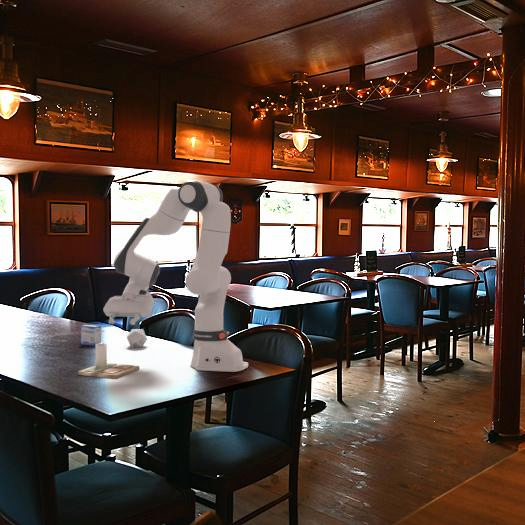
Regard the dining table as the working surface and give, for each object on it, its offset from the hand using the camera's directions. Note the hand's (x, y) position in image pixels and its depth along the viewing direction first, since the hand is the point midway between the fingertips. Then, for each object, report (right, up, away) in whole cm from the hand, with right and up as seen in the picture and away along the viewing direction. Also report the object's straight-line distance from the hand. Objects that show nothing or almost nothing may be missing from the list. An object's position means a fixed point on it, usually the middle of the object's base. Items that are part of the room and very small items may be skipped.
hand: (121, 323), depth 247 cm
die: (-1, -14, +35) cm, 38 cm away
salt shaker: (-4, -15, -14) cm, 21 cm away
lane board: (-1, -16, -15) cm, 22 cm away
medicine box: (-23, -14, +39) cm, 47 cm away
